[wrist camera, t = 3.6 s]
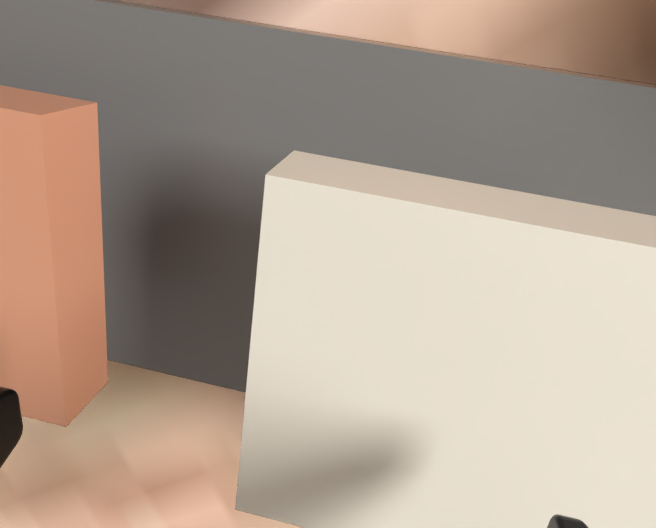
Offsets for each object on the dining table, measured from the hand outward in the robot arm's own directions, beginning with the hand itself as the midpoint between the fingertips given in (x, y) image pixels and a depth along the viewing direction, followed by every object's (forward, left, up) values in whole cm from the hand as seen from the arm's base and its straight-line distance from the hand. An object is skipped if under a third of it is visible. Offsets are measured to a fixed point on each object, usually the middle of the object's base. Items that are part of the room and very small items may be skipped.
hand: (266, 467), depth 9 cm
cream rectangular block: (0, -4, -6) cm, 7 cm away
